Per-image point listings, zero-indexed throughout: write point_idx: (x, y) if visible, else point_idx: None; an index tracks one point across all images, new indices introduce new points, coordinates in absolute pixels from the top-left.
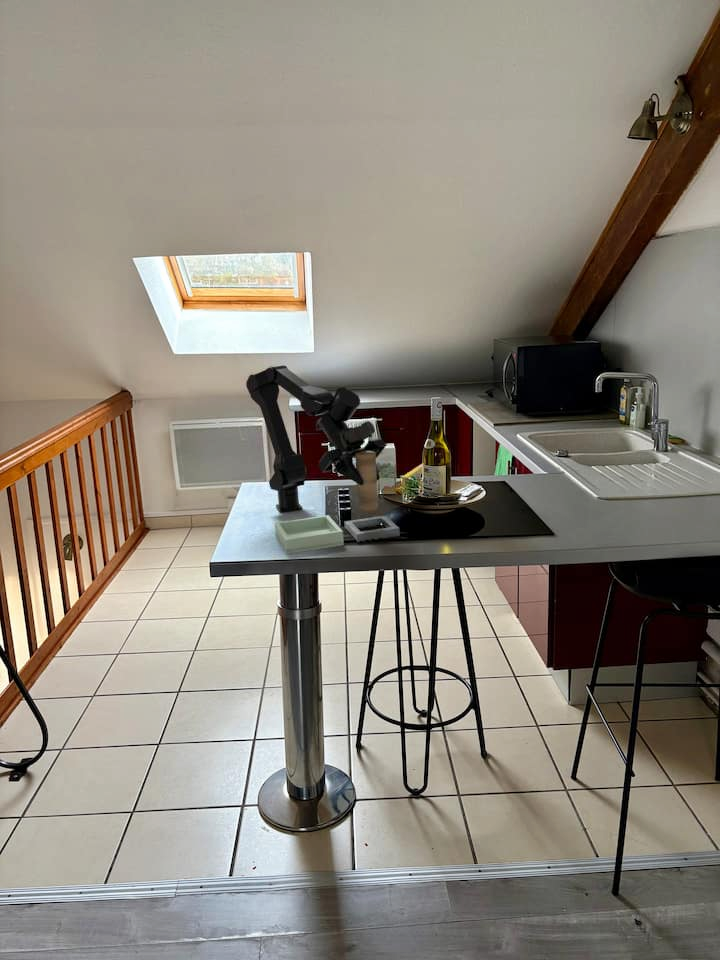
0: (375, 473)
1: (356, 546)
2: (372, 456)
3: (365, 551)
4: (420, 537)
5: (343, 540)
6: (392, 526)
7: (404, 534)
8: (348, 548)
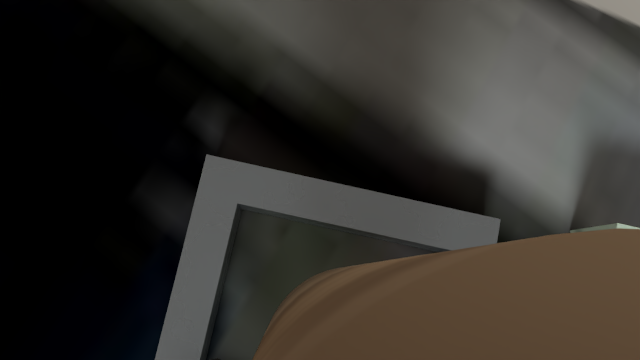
0: (319, 287)
1: (516, 165)
2: (496, 244)
3: (509, 65)
4: (131, 64)
5: (584, 228)
6: (226, 209)
7: (175, 168)
8: (568, 165)
